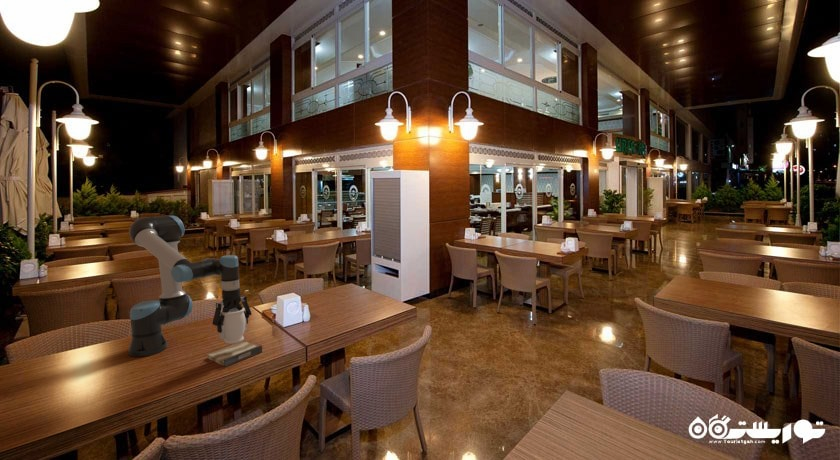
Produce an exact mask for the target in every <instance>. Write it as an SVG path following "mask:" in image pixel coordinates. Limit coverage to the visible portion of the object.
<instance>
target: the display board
mask: <svg viewBox="0 0 840 460" xmlns="http://www.w3.org/2000/svg"><path fill="white" fill-rule="evenodd" d="M262 352H263V345H261V344H259V345H255V344H252V343H250V342H247V341H245V340H242V341H240V342H237V343H233V344H230V345H229V346H226V347H223V348H221V349H218V350H215V351H213V352H209V353H207V354H206V358H207V359H208V360H210V361H213V362H214V363H216V364H219V365H221V366H223V367H225V368H226V367H229V366H231V365H233V364H236V363H238V362H241V361H243V360H246V359H248V358H252V357H253V356H256V355H258V354H261V353H262Z"/></svg>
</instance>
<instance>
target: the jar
mask: <svg viewBox="0 0 840 460" xmlns="http://www.w3.org/2000/svg"><path fill="white" fill-rule="evenodd" d="M241 307H242V308H243V309H242V310H240V311H239V310H238V309H237V308H233V309H230V310H229V311H228V313H225V312H222V311H223V308H221V313H220V315H224V316H225V317H224V321H223V323H222V325H224V338H225V339H223V342H224V343H225V344H230V345H233V344H237V343H239V342H242V341H244V340H245V337H244V334H245V314H244V311H245V308H244V306H241ZM226 309H227V308H226ZM245 312H246V311H245Z"/></svg>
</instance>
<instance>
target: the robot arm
mask: <svg viewBox="0 0 840 460" xmlns="http://www.w3.org/2000/svg"><path fill="white" fill-rule="evenodd" d="M128 229H129V230H128V235H129V238H130V240H131V241H132V242H133V244H135V245H137V246H138V247H142V248H144V249H146V251H148V252H149V253H150V254H151V255H153V257H155V258H156V259H157V260H158V268H159V274H160V276H159V277H160V284H161V294H160V295H159V296H158V298H159V299H152V300H151V299H150V300H145V301H141V302H138V303H137V304H134V305H133V306H132V307H131V308H130V311H129V319H130V329H131V341H130V343H129V347H128V350H127V351H128V356H130V357H134V358H136V357H137V358H139V357H146V356H147V357H148V356H152V355H155V354H159V353H161V352H163V351H165V350H166V349H167V347H168V342H167V340H166V338H165V336H164V334H163V332H162V326H163V325H166V324H170V323H173V322H176V321H180V320H182V319H185V318H187V317H188V316H190V315H191V313H192V312H193V310H194V309H193V308H194V303H193V299H192V298H191V296H190V295H188V294H187V292H186V291H185V290H183V285H182V284H183V283H187V282H190V281H194V280H197V279H202V278H206V277H211V276H220V280H221V283H220V284H221V289H222V290H221V295H222V296H221V299H222V300H221V302H216V303H215V311H214V316H213V319H212V325H213V326H215V327H216V329H217V333H219V339H220V340H225V338H224V325H222V323H223V321H224V317H225V316H224V315H221V314H220V313H221V310H222V309H223V311H222V312H225V313H228V311H229V310H230V309H233V308H237V309H238V310H239V311H240V310H242V309H243V308H242V307H244V308H245V311H244V314H245V331H244V333H245V332H247V331H248V327H247V326H248V324H249V318H250V316H252V311H251V309H250V307H249V303H248V297H247V296H243V295H242V296H241V289H240V288H241V287H240V286H241V285H240V268H239V267H240V265H239V264H240V263H239V257H238V256H237V255H235V254H234V255H232V254H231V255H230V254H228V255H223V256H220V257H219V258H215V257H211V258H209V257H207V258H205V259H203V260H201V261H193V262H192V261H190V259H188V258H186V257H185V255H184V254H182V253H180V252H179V249H178V244H179V243H180V242H181V238H182V237H183V236H184V234H185V231H186V230H185V226H184V223H183V221H182V220H181V218H179V217H178V216H176V215H158V216H144V217H143V216H142V217H139V218H137V219H136V220H134V221H132V223H131V225H130V227H129V228H128ZM240 303H241V304H242V305H241V304H240ZM226 308H227V309H226Z"/></svg>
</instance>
